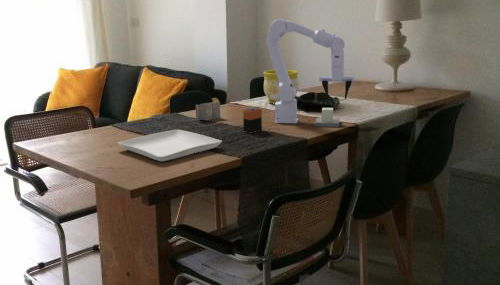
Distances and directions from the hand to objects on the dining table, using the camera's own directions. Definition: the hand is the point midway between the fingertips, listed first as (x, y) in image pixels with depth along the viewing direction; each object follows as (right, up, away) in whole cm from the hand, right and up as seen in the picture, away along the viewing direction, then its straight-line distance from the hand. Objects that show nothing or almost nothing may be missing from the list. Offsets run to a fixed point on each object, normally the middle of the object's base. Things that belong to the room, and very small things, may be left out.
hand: (336, 98), depth 217 cm
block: (-4, -9, 0) cm, 10 cm away
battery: (-36, -14, -10) cm, 40 cm away
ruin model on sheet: (-56, -9, +15) cm, 59 cm away
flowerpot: (-21, +2, +52) cm, 56 cm away
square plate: (-65, -22, -34) cm, 77 cm away
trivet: (-4, -11, +1) cm, 11 cm away
